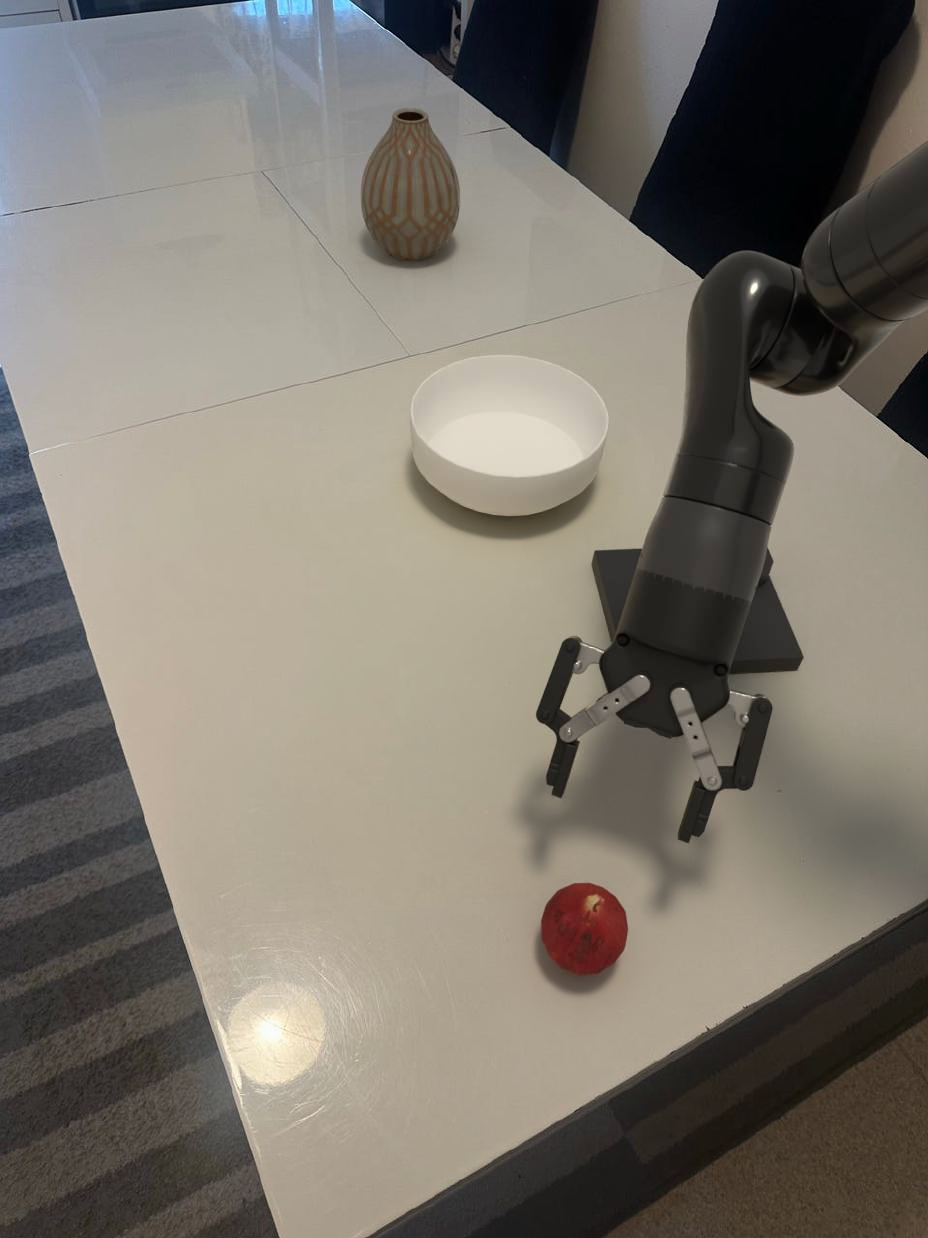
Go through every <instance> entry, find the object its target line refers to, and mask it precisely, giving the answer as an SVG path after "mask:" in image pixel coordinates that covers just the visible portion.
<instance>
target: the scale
mask: <svg viewBox="0 0 928 1238" xmlns="http://www.w3.org/2000/svg"><path fill="white" fill-rule="evenodd" d="M641 550H642V548H620V549H619V548H618V549H617V548H616V549H595V550H593V555H592V560H591V567H592V571H593V575H594V579H595V583H596V586H597V591H598V594H599V595H598V596H599V598H600V599H599V600H600V602H601V606H602V610H603V614H604V618H605V623H606V627H607V629H608V634H609V638H610V641H611V643H612V642H613V640H614V638H615V635H616V632H617V629H618V625H619V622H620V619H621V616H622V612H623V609H624V606H625V603H626V600H627V596H628V593H629V590H630V587H631V584H632V580H633V577H634V574H635V571H636V567H637V564H638V561H639V555H640V552H641ZM773 564H774V558H773V556H772V554H771V551H770V549H769V548H768V547H767V552H766V557H765V562H764V566H763V569H762V572H761V575H760V578H759V581H758V586H757V589H756V591H755V593H754V596H753V599H752V603H751V606H750V609H749V612H748V615H747V618H746V621H745V624H744V628H743V631H742V634H741V637H740V640H739V643H738V646H737V649H736V652H735V655H734V658H733V661H732V664H731V668H730V671H729V675H731V674H749V673H767V672H769V673H771V672H786V671H788V672H790V671H798V669H799V667H800V666H801V663H802V662H803V660H804V658H805V656H804V654H803V652H802V649H801V647H800V644H799V643H798V640H797V638H796V635H795V632H794V630H793V628H792V625H791V623H790V620H789V619H788V616H787V613H786V612H785V608H784V607H783V604H782V602H781V600H780V598H779V595H778V593H777V590H776V588H775V585H774V583H773V581H772V578H771V576H770V573H771V570H772V567H773Z"/></svg>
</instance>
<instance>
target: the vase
mask: <svg viewBox="0 0 928 1238" xmlns="http://www.w3.org/2000/svg"><path fill="white" fill-rule="evenodd" d="M391 116H392V117H391V118H392V119H391V122H390V124H389V126H388V129H387V130H386V132H385V133H384V134H383V136H382V137H381V138H380V140H379V141H378V143H377V144H376V145H375V147H374V149H373V150H372V152H371V153H370V155H369V157H368V160H367V162H366V164H365V167H364V170H363V174H362V177H361V183H360V206H361V212H362V218H363V220H364V224H365V227H366V229H367V231H368V233H369V234H370V236H371V238H372V239H373V241H374V242H375V244H377V246H379V247H380V248H381V249H382V250H383V251H384V252H386V253H387V254H388V255H389V256H391V257H393V258H395V259H398V260H401V261H405V262H406V261H407V262H417V261H418V262H419V261H423V260H425V259H428V258H430V257H431V256H433V255H434V254H435V253H437V252H438V251H440V250H441V249H442V248H444V246H445V245H446V244H447V243H448V241H449V239H450V238H451V236H452V235H453V232H454V230H455V228H456V226H457V223H458V220H459V216H460V208H461V207H460V206H461V187H460V182H459V177H458V174H457V173H458V172H457V169H456V167H455V165H454V162H453V160H452V157H451V156H450V154H449V152H448V151H447V150H446V147H445V146H444V145H443V143H442V142H441V140H440V138H438V136H437V134H435V132H434V130H433V128H432V126H431V124H430V121H429V114H428V113H427V112H426V111H425V110H423V109H420V108H416V107H404V108H398V109H396V110H394V111H393V113H392V115H391Z"/></svg>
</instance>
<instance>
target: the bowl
mask: <svg viewBox="0 0 928 1238" xmlns="http://www.w3.org/2000/svg"><path fill="white" fill-rule="evenodd" d="M609 429H610V418H609V412H608V409H607V407H606V404H605V401H604V400H603V398H602V397H601V396H600V394H599V393H598V392H597V390H596V389H595V388H594V387H593V386H592V385H591V384H589V382H588V381H586V379H584V378H582V377H581V376H579V375H578V374H576V373H575V372H573V371H571V370H569V369H568V368H565V367H563V366H560V365H558V364H556V363H553V362H551V361H546V360H542V359H540V358H535V357H530V356H529V357H528V356H524V355H516V354H515V355H513V354H490V355H489V354H488V355H487V354H486V355H479V356H475V357H474V356H473V357H468V358H464V359H461V360H457V361H454V362H451V363H449V364H448V365H445V366H443V367H441V368H439V369H437V370H435V372H432V374H430V375H429V376H428V377H426V378H425V379H424V381H422V383H421V384H419V386H418V387H417V389H416V390H415V392H414V394H413V397H412V399H411V400H410V408H409V433H410V443H411V450H412V451H411V452H412V457H413V461H414V464H415V465H416V467H417V469H418V472H419V473H420V474H421V476H422V477H424V479H425V480H426V481H427V482H428V483H429V485H431V486H432V487H433V488H435V489H436V490H437V491H438V492H440V493H441V494H443V496H446V497H447V498H448V499H449V500H450V501H453V502H455V503H456V504H458V505H460V506H462V507H464V508H467V509H470V510H472V511H475V512H479V513H483V514H487V515H488V514H489V515H493V516H505V517H517V516H518V517H519V516H529V515H533V514H534V515H535V514H538V513H539V514H540V513H543V512H545V511H548V510H551V509H554V508H556V507H558V506H559V505H561V504H564V503H566V502H569V501H570V500H571V499H573V498H575V497H576V496H578V495H580V494H581V493H582V492H584V490H585V489H586V488H588V486H589V485H590V484H591V483H592V482H593V480H594V479H595V477H596V475H597V473H598V471H599V468H600V464H601V461H602V458H603V454H604V450H605V447H606V442H607V438H608V433H609Z"/></svg>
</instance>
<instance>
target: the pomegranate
mask: <svg viewBox="0 0 928 1238" xmlns="http://www.w3.org/2000/svg"><path fill="white" fill-rule="evenodd" d="M540 927H541V928H540V929H541V941H542V943H543V946H544V948H545V951H546V952H547V955H548V956H549V958H550V959H551V960H552V961H554V963H555V964H556V965H557V966H559V968H560V969H561V970H564V971H567V972H568V973H571V974H574V975H577V976H580V977H581V976H591V975H599V974H600V973H601V972H603V971H605V970H607V969H608V968H609V967H611V966H613V965H615V964H616V962H617V961H618V959H619V958H620V956H621V955H622V953H624V951H625V948H626V946H627V939H628V935H629V934H628V933H629V925H628V917H627V911H626V910H625V908H624V906H623V905H622V904H621V902H620V900H619V899H618V898H617V896H616V895H614V894H613V893H612V892H610V891H609V890H607V889H606V888H605V887H604V886H600V885H598V884H594V883H591V882H574V883H571V884H569V885H567V886H564V887H561V888H560V889H557V890H556V892H554V894H553V895H552V896H551V897H550V899H549V900H548V901H547V902H546V904H545V906H544V909H543V912H542V916H541V919H540Z"/></svg>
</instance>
